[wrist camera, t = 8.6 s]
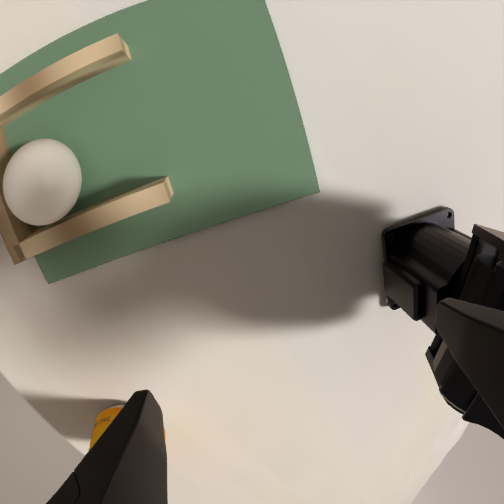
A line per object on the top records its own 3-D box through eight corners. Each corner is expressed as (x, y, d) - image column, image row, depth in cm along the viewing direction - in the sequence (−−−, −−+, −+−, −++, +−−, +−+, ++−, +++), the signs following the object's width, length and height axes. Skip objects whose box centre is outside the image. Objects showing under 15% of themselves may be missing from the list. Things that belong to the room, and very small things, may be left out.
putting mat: (254, -23, 14) (255, -26, 13) (317, 190, 19) (319, 192, 19) (-15, 87, 13) (-18, 87, 13) (51, 281, 18) (48, 283, 18)
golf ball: (-10, 191, 13) (38, 130, 15) (44, 237, 16) (88, 176, 18) (-18, 190, 10) (44, 112, 11) (52, 248, 13) (108, 172, 14)
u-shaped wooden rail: (127, 45, 14) (117, 33, 12) (173, 192, 17) (169, 202, 15) (-12, 120, 14) (-34, 121, 11) (32, 249, 17) (14, 264, 15)
